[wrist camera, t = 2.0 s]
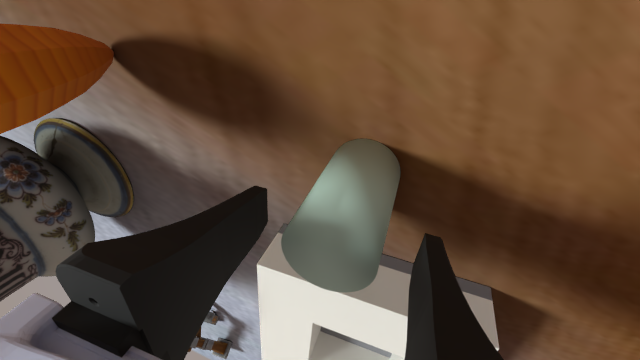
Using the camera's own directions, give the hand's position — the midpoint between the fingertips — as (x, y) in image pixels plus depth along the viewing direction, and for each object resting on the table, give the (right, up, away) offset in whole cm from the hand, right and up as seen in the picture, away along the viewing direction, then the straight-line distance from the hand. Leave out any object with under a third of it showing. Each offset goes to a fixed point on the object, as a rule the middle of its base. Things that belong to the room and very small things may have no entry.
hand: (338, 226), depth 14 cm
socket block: (+3, -9, +11) cm, 14 cm away
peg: (+2, +3, +4) cm, 5 cm away
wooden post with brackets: (-12, -14, +21) cm, 28 cm away
